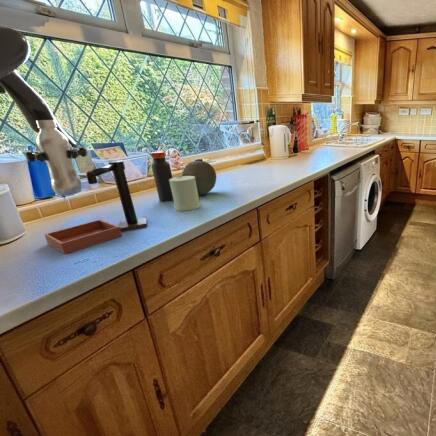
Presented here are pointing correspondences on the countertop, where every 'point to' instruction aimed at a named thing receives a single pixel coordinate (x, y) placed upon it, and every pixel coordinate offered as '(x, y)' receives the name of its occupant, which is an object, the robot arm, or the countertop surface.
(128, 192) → the faucet base
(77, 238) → the reddish brown tray
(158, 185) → the vinegar
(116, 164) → the spout
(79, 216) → the countertop surface
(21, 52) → the robot arm
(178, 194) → the can
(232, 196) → the countertop surface
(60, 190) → the plastic bottle
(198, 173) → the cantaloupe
